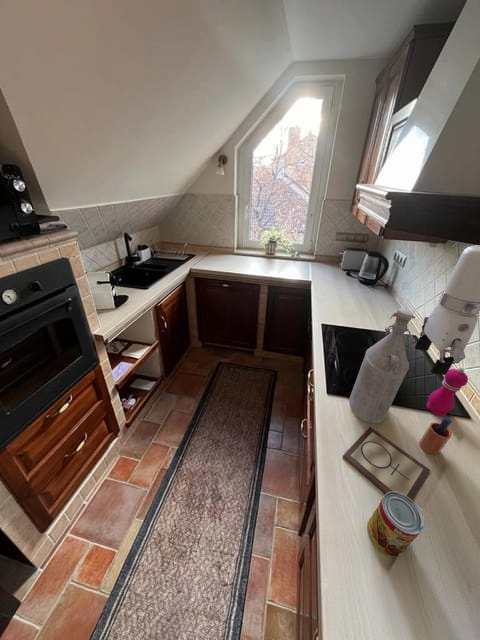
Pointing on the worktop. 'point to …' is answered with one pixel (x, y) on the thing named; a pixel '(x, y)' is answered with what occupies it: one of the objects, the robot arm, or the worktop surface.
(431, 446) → the pen cup
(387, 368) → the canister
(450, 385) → the pepper mill
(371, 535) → the canned food
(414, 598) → the worktop surface
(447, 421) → the marker
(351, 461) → the framed female symbol sign
